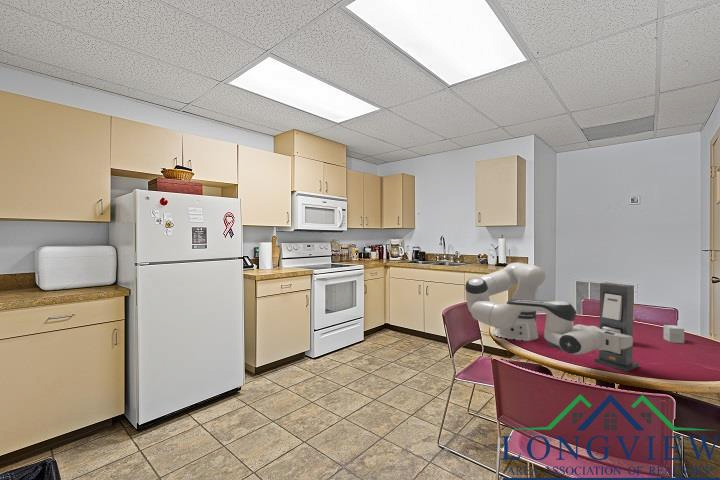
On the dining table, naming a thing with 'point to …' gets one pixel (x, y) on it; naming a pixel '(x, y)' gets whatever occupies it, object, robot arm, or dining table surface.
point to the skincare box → (673, 333)
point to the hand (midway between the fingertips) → (610, 332)
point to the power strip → (618, 327)
